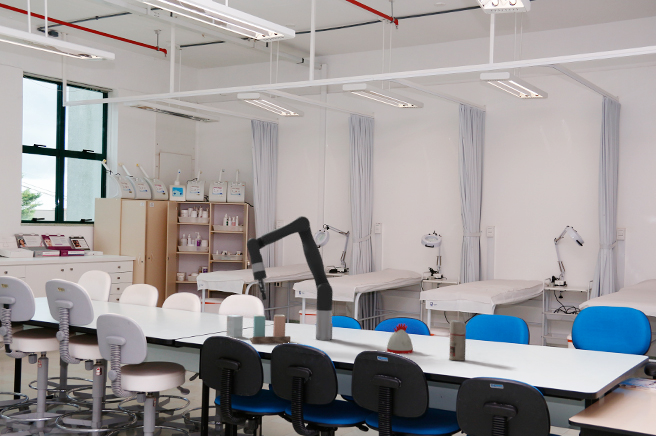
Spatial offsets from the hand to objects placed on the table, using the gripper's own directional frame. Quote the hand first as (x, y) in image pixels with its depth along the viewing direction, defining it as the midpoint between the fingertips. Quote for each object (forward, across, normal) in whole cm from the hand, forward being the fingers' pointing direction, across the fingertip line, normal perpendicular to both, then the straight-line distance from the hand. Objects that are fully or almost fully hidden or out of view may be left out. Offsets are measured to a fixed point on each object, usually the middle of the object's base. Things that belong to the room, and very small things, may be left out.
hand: (264, 300), depth 383 cm
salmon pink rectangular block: (+25, -4, -4) cm, 25 cm away
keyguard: (+25, -8, +1) cm, 27 cm away
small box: (+17, +7, +23) cm, 30 cm away
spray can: (+56, -41, -94) cm, 117 cm away
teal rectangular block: (+23, -7, +7) cm, 25 cm away
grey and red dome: (+46, -21, -68) cm, 85 cm away
